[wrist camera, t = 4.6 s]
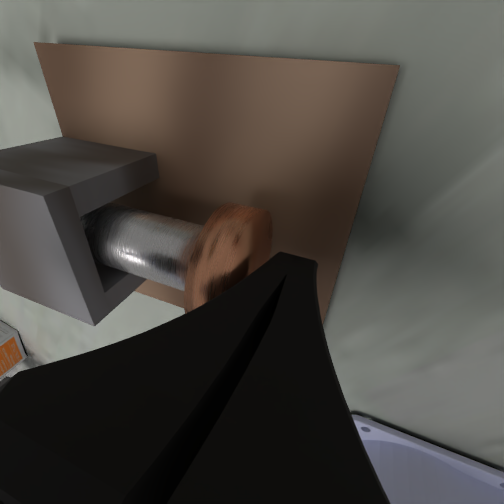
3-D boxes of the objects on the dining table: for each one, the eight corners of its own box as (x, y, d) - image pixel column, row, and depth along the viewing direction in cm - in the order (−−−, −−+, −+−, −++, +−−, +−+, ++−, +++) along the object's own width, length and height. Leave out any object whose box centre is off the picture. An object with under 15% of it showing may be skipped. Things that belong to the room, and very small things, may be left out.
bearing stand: (397, 65, 8) (422, 61, 3) (317, 338, 15) (289, 458, 10) (57, 44, 11) (-157, 27, 7) (120, 272, 18) (33, 340, 14)
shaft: (277, 190, 10) (222, 255, 6) (266, 284, 12) (222, 368, 9) (77, 150, 12) (-41, 182, 9) (102, 236, 15) (18, 286, 11)
